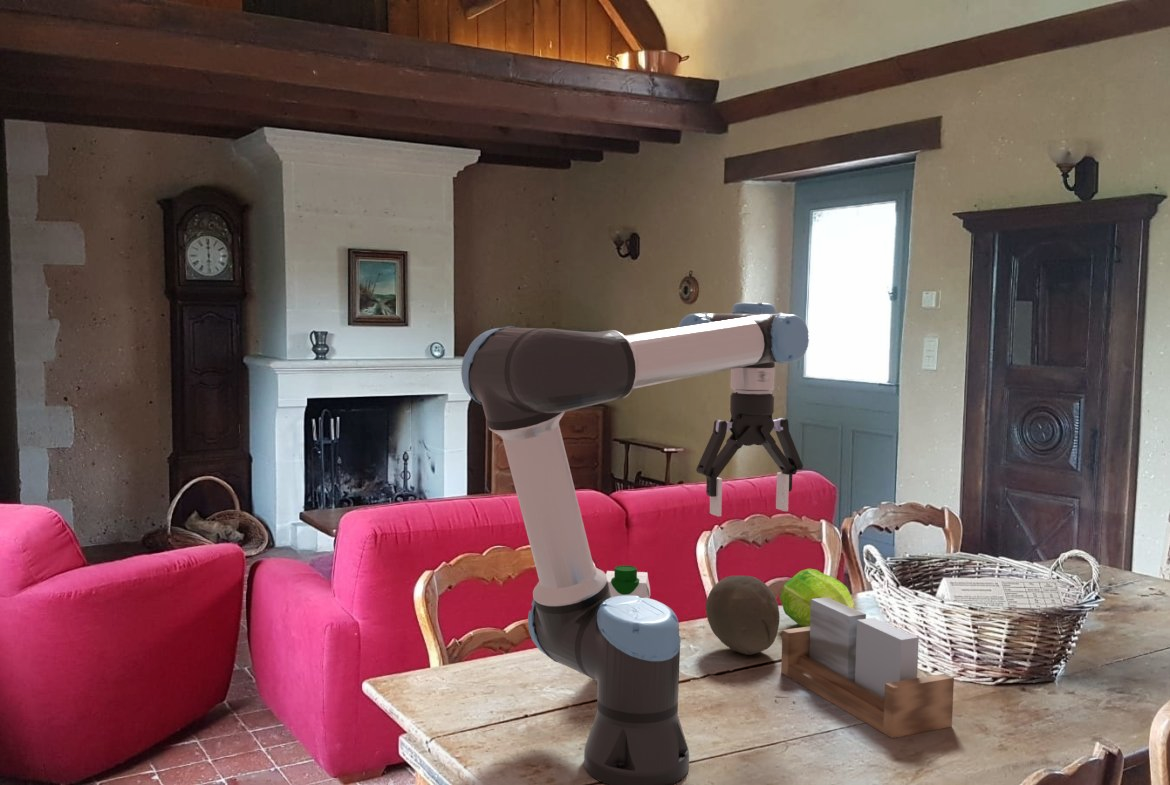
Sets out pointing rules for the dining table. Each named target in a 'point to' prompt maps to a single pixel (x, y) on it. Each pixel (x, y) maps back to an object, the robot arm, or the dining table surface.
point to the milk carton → (628, 582)
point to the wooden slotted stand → (829, 671)
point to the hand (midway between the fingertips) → (749, 512)
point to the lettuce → (811, 594)
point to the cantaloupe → (743, 614)
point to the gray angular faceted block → (884, 655)
